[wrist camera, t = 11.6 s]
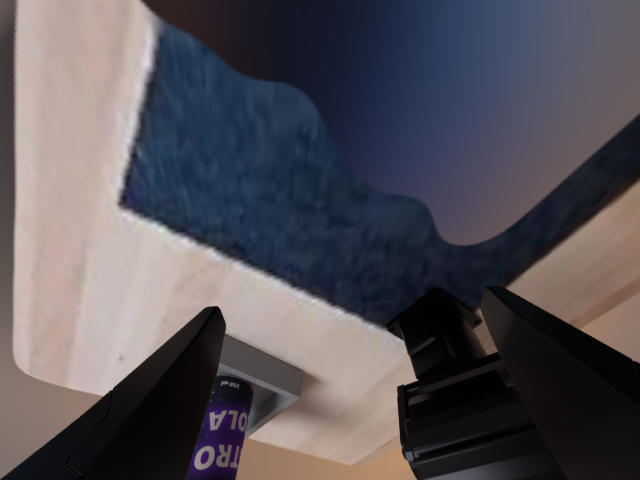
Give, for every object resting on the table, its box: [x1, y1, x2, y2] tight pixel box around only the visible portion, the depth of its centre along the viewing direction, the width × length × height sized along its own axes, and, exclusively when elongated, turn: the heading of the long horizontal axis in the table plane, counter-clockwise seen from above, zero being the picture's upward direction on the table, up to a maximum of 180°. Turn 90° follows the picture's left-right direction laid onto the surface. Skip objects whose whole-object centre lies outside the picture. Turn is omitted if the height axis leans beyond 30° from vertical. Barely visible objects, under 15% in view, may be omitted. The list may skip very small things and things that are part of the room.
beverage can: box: [185, 372, 254, 480], centre depth 26 cm, size 6×6×12 cm
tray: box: [217, 335, 302, 440], centre depth 31 cm, size 12×12×3 cm
